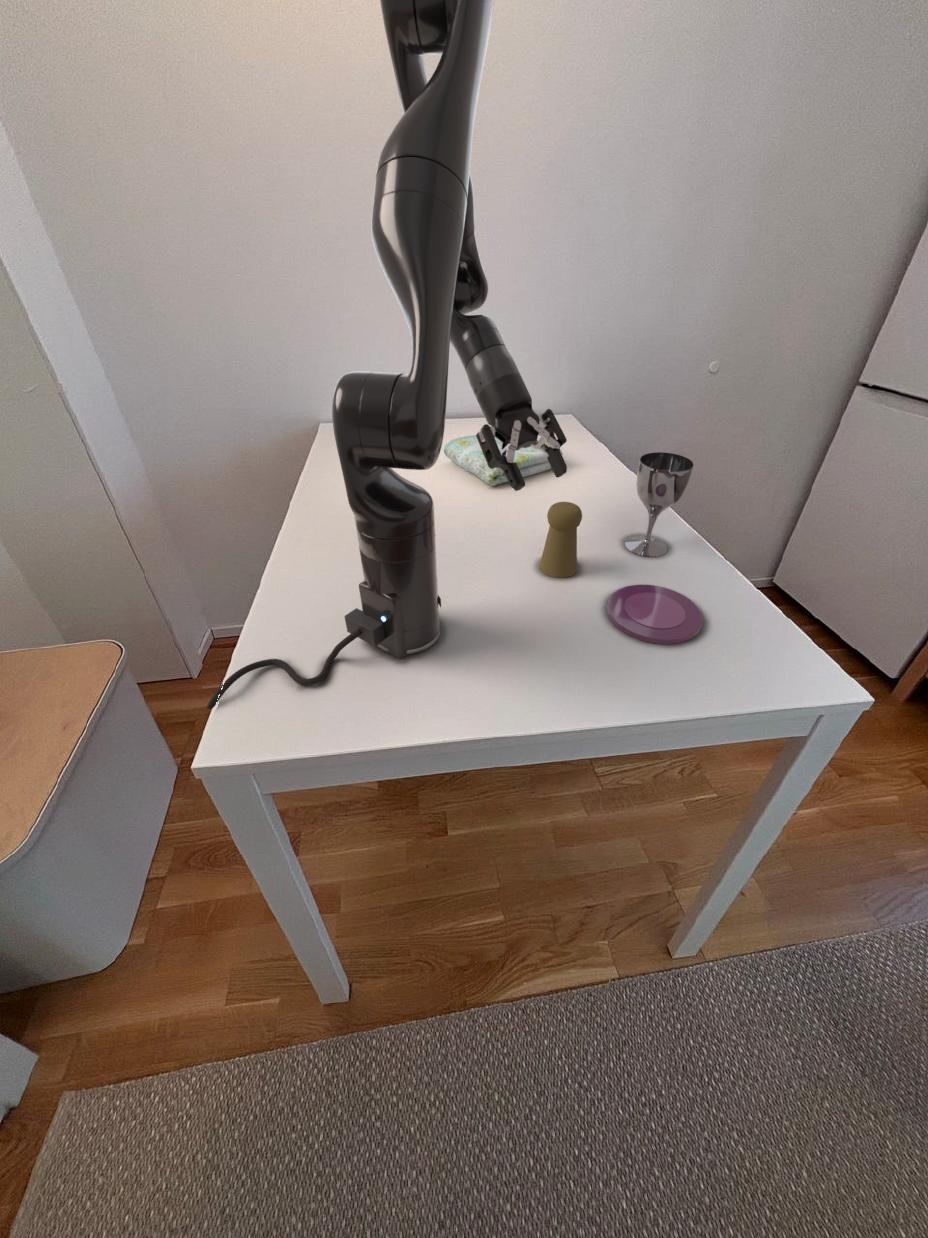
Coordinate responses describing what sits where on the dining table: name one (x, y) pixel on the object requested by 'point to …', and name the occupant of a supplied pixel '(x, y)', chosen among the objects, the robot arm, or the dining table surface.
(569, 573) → the cork
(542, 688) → the dining table surface
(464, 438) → the towel
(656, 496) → the wine glass
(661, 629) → the saucer
